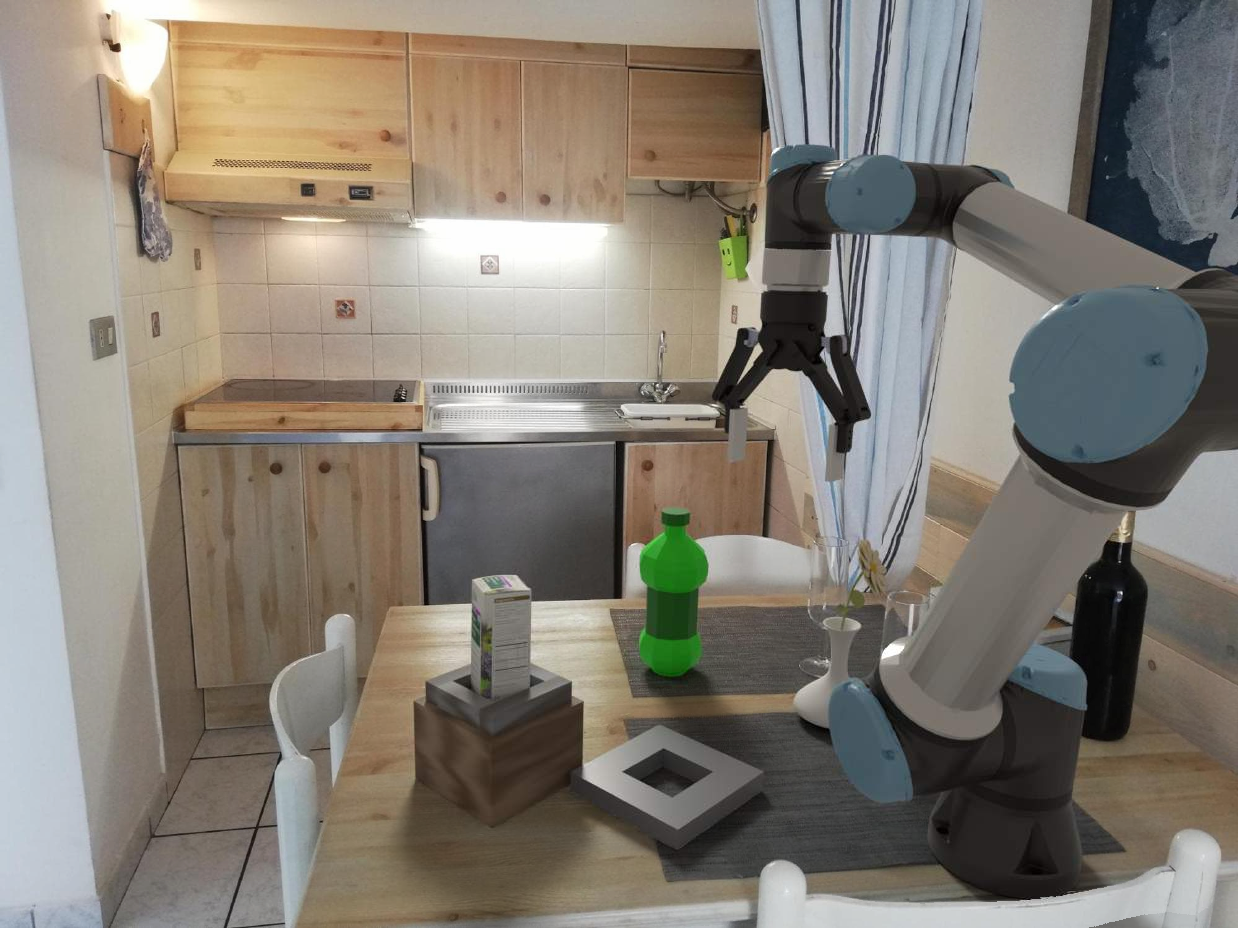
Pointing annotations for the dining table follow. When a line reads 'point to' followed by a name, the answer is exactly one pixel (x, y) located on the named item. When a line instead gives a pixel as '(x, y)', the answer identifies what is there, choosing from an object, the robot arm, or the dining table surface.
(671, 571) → the plastic bottle
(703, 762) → the low socket block
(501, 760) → the raised socket
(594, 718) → the dining table surface
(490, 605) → the syrup box
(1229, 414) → the robot arm
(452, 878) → the dining table surface
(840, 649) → the flower in vase
